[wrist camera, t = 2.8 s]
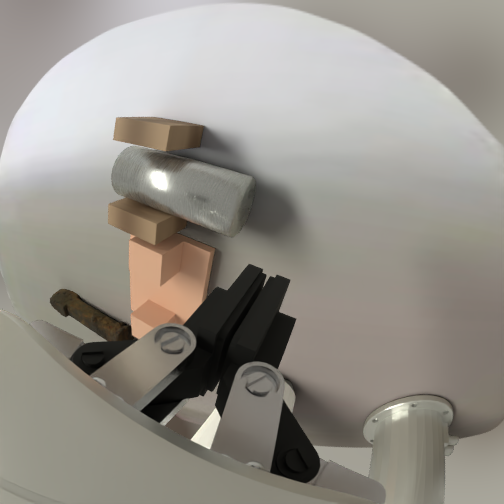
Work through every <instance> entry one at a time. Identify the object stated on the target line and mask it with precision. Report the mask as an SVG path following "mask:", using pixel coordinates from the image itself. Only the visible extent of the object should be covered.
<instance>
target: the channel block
mask: <svg viewBox="0 0 504 504" xmlns="http://www.w3.org/2000/svg"><path fill="white" fill-rule="evenodd" d="M203 128H204V126H203V125H197V124H192V123H187V122H181V121H176V120H169V119H163V118H157V117H118V118H116V123H115V130H114V138H113V140H116V141H121V142H126V143H130V144H135V145H140V146H144V147H149V148H153V149H157V150H162V151H173V150H180V149H188V148H197V147H200V142H201V138H202V133H203ZM108 224H110V225H112V226H114V227H117V228H119V229H121V230H123V231H125V232H127V233H129V234H131V235H134V236H136V237H138V238H140V239H142V240H144V241H147V242H149V243H151V244H153V245H156V244H158V243H160V242H161V241H163V240H165V239H167V238H168V237H170V236H172V235H173V234H175V233H177V232H179V231H180V230H182V229H184V228H185V227H186V224H187V220H184V219H182V218H179V217H176V216H174V215H171V214H169V213H166V212H163V211H161V210H158V209H155V208H153V207H150V206H148V205H145V204H142V203H140V202H137V201H134V200H132V199H129V198H124V199H121V200H118V201H115V202H113V203H110V204H109V205H108Z"/></svg>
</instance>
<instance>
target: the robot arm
mask: <svg viewBox="0 0 504 504" xmlns="http://www.w3.org/2000/svg"><path fill="white" fill-rule="evenodd" d="M262 272H263V269H261V268H259V267H256V266H254V265H251V264H249V265H248V266H247V267H246V268H245V269H244V271H243V272H242V273H241V274H240V276H239V277H238V278H237V279H236V281H235V282H234V283H233V284H232V286H231V287H230V288H229V289H228V291H226V290H224V289H222V288H219V287H216V288H215V289H214V290H213V291H212V293H211V294H210V295H209V296H208V297H207V298H206V299H205V301H204V302H203V303H202V304H201V305H200V306H199V307H198V308H197V310H196V311H195V312H194V313H193V314H192V315H191V316H190V317H189V319H188V320H187V321H186V322H185V323H184V324H183V325H180V324H176V323H165V324H161V325H159V326H157V327H155V328H154V329H152V330H151V331H150V332H148V333H147V334H146V335H144V336H143V337H141V338H140V339H136V340H123V341H108V342H92V343H86V344H85V343H84V342H83V339H81V338H79V337H76V336H74V335H72V334H70V333H68V332H66V331H64V330H62V329H60V328H58V327H56V326H54V325H52V324H50V323H48V322H46V321H43V320H36V321H33V322H31V323H30V324H28V323H27V322H25V321H24V320H23V319H21V318H19V317H18V316H16V315H14V314H12V313H9V312H7V311H5V310H2V309H0V504H444V495H445V456H449V455H451V453H452V452H453V450H454V445H456V444H457V443H458V441H459V437H458V436H452V435H451V436H449V434H448V427H449V425H450V424H451V422H452V420H453V410H452V406H451V404H450V403H449V402H448V401H447V400H445V399H443V398H441V397H437V396H432V395H416V396H410V397H405V398H401V399H397V400H395V401H392V402H389V403H387V404H385V405H383V406H381V407H380V408H378V409H376V410H375V411H374V412H372V413H371V414H370V415H369V416H368V418H367V419H366V421H365V423H364V428H363V434H364V437H365V439H366V440H367V441H368V442H369V443H371V444H373V449H372V457H371V464H370V470H369V476H368V477H366V476H363V475H361V474H359V473H356V472H354V471H352V470H350V469H347V468H345V467H343V466H341V465H339V464H337V463H335V462H333V461H331V460H329V461H328V462H327V461H325V460H323V459H321V458H319V456H318V453H317V452H316V450H315V449H314V447H313V445H312V444H311V442H310V441H309V439H308V438H307V436H306V435H305V433H304V432H303V430H302V428H301V427H300V425H299V424H298V422H297V420H296V419H295V417H294V416H293V414H292V412H291V411H290V409H289V408H288V406H287V404H286V403H285V401H284V399H283V397H284V390H285V381H284V378H283V376H282V374H281V373H280V372H279V371H278V370H277V369H278V367H279V364H280V362H281V359H282V356H283V354H284V351H285V349H286V346H287V343H288V341H289V338H290V335H291V332H292V330H293V327H294V324H295V321H296V319H295V318H293V317H290V316H288V315H285V314H283V313H280V312H279V309H280V307H281V304H282V301H283V299H284V296H285V293H286V291H287V288H288V285H289V283H290V279H287V278H284V277H282V276H279V275H276V277H275V278H274V277H271V276H270V277H269V279H268V281H267V282H266V284H265V286H264V287H263V285H264V282H265V279H266V274H264V273H262ZM262 288H263V289H262ZM219 380H220V382H219ZM218 382H219V385H218V389H217V393H216V394H218V396H217V400H216V403H215V406H216V409H217V411H218V413H219V415H220V418H221V419H220V421H219V424H218V427H217V430H216V433H215V436H214V439H213V442H212V445H211V448H210V449H208V448H206V447H204V446H202V445H200V444H197V443H195V442H193V441H191V440H189V439H187V438H185V437H183V436H181V435H180V434H178V433H176V432H174V431H172V430H170V429H169V428H167V427H165V426H164V425H165V424H166V423H167V422H168V421H169V420H170V419H171V418H172V417H173V416H174V415H175V414H176V413H177V412H178V411H179V410H180V409H181V408H182V407H183V406H184V405H185V404H186V403H187V401H188V400H189V398H194V397H198V396H199V395H201V396H204V395H205V393H206V392H207V390H209V391H211V392H212V391H213V390H214V389H215V387H216V385H217V384H218Z"/></svg>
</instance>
